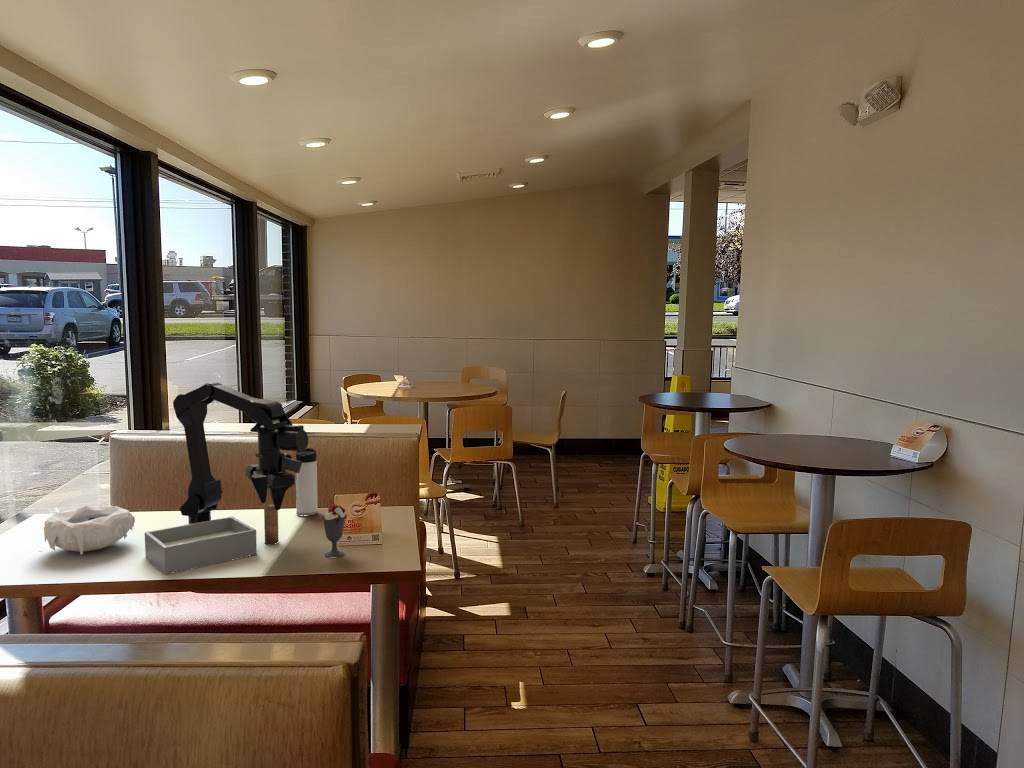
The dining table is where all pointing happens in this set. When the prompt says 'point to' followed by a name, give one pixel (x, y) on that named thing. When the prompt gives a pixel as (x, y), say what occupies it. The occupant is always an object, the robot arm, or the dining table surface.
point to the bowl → (88, 527)
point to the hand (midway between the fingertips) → (270, 506)
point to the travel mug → (306, 483)
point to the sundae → (334, 527)
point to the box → (199, 544)
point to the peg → (271, 524)
